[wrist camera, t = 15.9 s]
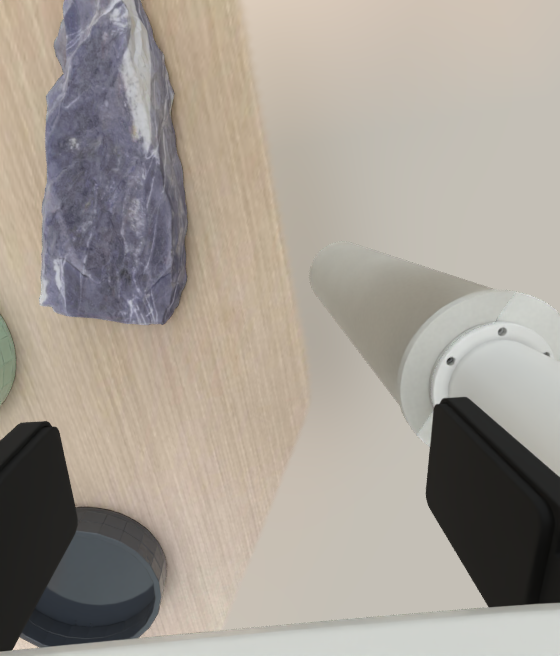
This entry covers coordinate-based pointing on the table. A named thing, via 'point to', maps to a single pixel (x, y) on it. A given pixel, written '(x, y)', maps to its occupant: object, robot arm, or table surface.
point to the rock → (112, 172)
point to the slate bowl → (101, 584)
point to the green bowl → (6, 361)
